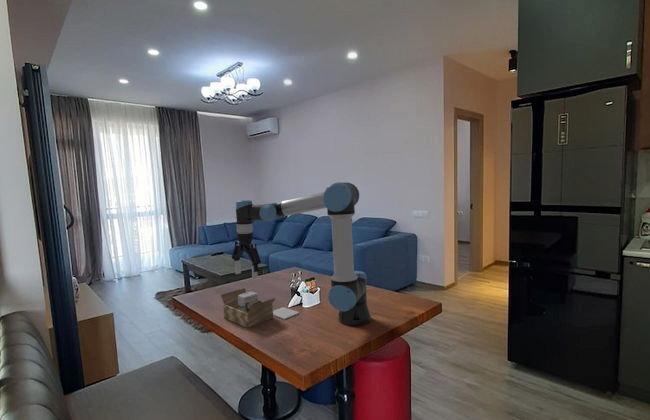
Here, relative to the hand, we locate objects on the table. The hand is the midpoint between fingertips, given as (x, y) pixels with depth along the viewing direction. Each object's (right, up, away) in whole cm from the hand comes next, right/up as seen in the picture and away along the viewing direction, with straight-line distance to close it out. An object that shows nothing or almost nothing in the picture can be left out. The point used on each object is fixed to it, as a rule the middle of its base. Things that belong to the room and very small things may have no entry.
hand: (246, 276), depth 165 cm
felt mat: (+17, -20, +5) cm, 27 cm away
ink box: (+1, -21, +2) cm, 21 cm away
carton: (+1, -21, +2) cm, 21 cm away
